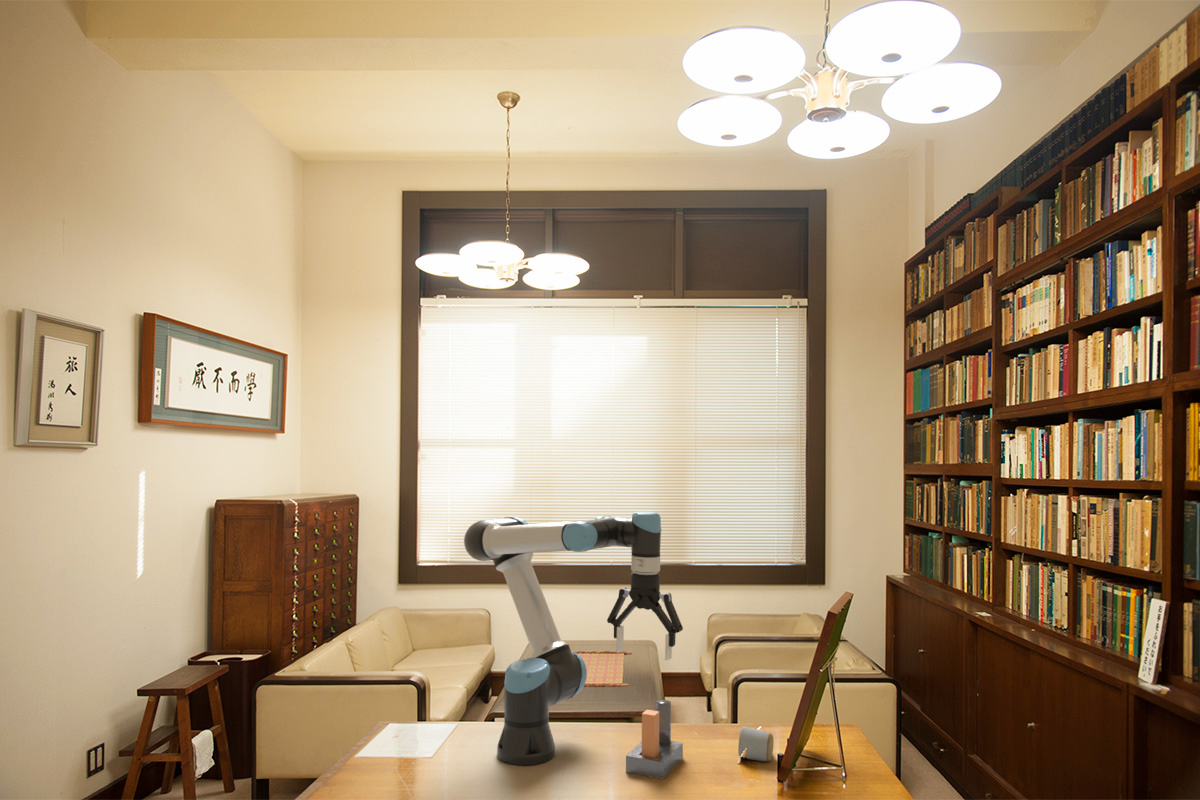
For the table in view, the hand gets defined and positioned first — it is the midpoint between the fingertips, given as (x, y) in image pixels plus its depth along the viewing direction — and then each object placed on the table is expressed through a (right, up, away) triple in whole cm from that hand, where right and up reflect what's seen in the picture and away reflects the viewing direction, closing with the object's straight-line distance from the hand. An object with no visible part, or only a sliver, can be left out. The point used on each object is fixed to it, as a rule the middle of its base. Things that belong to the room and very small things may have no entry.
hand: (643, 655), depth 204 cm
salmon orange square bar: (+1, -27, -6) cm, 27 cm away
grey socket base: (+3, -27, -3) cm, 27 cm away
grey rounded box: (+30, -28, +3) cm, 41 cm away
